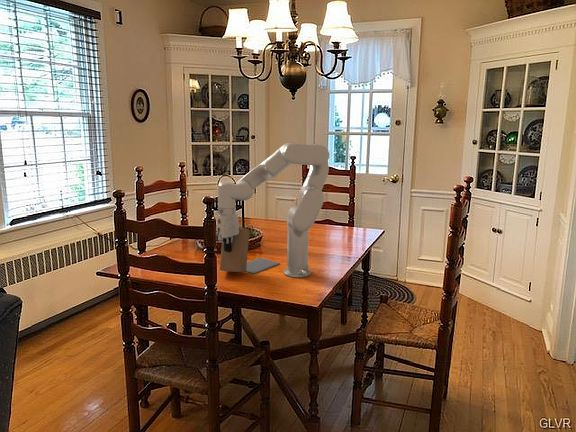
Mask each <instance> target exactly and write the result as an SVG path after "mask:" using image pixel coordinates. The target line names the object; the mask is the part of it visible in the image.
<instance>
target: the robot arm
mask: <svg viewBox="0 0 576 432" xmlns="http://www.w3.org/2000/svg"><path fill="white" fill-rule="evenodd" d="M329 159H330V151H329V149H328V148H327V146H324V145H322V144H318V143H311V144H303V143H302V144H301V143H300V144H299V143H295V142H286V143H284V144H283V145H281V146H280V147H279V148H278V149H277V150H276V151H274V152H273V153H272V154H270V155H269V156H268V157H267V158H266V159H265V160H263V161H262V162H260V163H259V164H258V165H257V166H255V167H254V168H252V169H251V170H250V171H249V172H248V173H246V174H245V175H244V176H243V177H241V178H240V179H239V180H238V181H237V182H236V183H234V182H231V181H230V182H229V181H228V182H225V181H224V182H220V183H218V184H217V208H218V209H217V211H216V212H217V213H218V214H217V218H216V229H215V230H216V231H217V232H216V236H217V241H221V242H222V241H223V243H224V251H226V252H231V251H232V242H233V239H234V237H235V236H236V235H238V234H239V227H240V223H239V216H238V212H236V211H237V210H236V200H239V201H248V200H250V199H251V198H253V196H254V190H255V189H256V188H257V187H259V186H260V185H261V184H263V183H264V182H266V181H269V180H272V179H274V178H276V177H277V176H278V175H280V174H281V173H282V172H283V171H285V170H286V169H287V168H288V167H290V166H291V165H300V166H301V165H304V166H309V168H308V169H309V171H308V173H307V176H306V178H305V180H304V182H303V184H302V186H301V187H300V189H299V191H298V199H299V204H298V205H296V204H295V205H293V206H291V207H290V208H289V209H288V211H287V213H286V214H287V215H286V225H287V226H286V227H287V248H286V249H287V250H286V251H287V254H286V255H287V256H286V257H287V267H286V268H284V270H283V274H284V275H286V277H287V276H288V277H290V278H296V279H297V278H298V279H299V278H307V277H309V276H310V275H312V270H311V269H310V268H309V239H310V238H309V230H310V229H312V227H313V225H314V224H315V222H316V220H317V217H319V214H320V212H321V210H322V207H323V205H324V202H325V195H324V192H323V191H322V190H323V188H324V185H325V183H326V181H327V178H328V176H329V171H330V170H329V166H330V165H329ZM225 238H226V239H225Z"/></svg>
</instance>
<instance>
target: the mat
mask: <svg viewBox="0 0 576 432" xmlns="http://www.w3.org/2000/svg"><path fill="white" fill-rule="evenodd" d="M280 264H281V263H280V262H278V261H274V260H271V259H266V258H263V257H258V258H255V259H252V260H250V261H247V266H246V272H245V273H248V274H250V275H256V274H258V273H260V272H263V271H266V270H268V269H272V268H274V267H277V266H279V265H280Z"/></svg>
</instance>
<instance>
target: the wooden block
mask: <svg viewBox="0 0 576 432" xmlns="http://www.w3.org/2000/svg"><path fill="white" fill-rule="evenodd" d="M225 239H226V238H225ZM249 243H250V229H248V228H245V227H240V226H239V234H238V235H236V236H235V237H234V239H233V242H232V251H231V252H226V251H224V243H223V241H221V251H220V252H221V253H220V261H219V270H220V271H222V272H231V273H233V272H234V273H247V272H246V266H247V262H248V253H249Z"/></svg>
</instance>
